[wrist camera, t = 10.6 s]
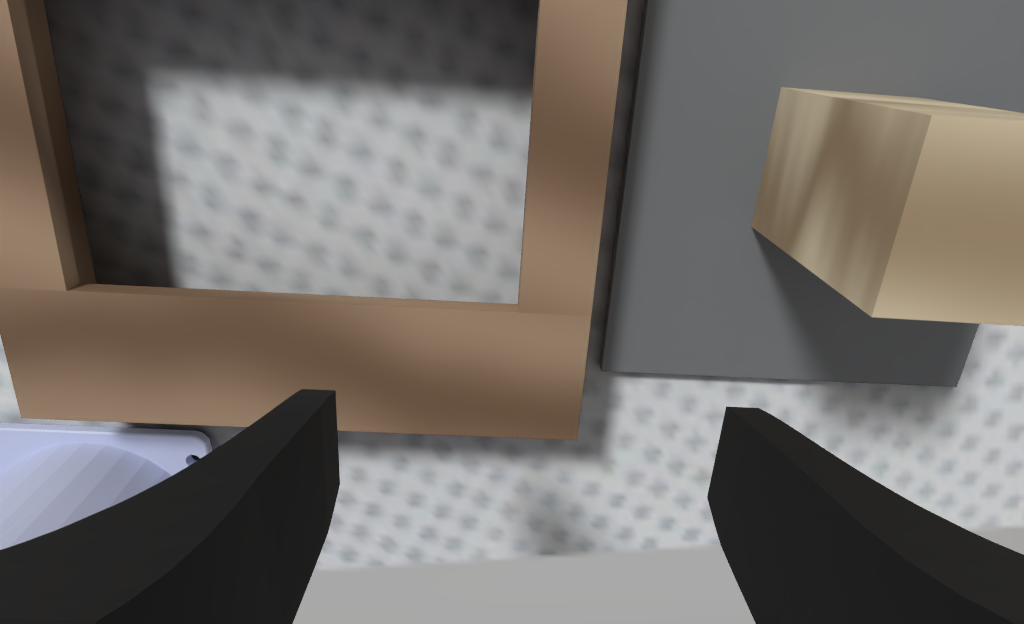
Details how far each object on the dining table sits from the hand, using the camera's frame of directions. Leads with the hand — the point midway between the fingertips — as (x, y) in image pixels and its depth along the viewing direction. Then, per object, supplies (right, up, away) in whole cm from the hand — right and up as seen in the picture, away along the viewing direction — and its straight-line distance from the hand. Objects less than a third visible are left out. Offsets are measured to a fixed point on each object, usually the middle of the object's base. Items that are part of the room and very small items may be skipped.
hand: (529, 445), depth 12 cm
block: (+9, +7, +7) cm, 13 cm away
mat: (+9, +7, +8) cm, 14 cm away
